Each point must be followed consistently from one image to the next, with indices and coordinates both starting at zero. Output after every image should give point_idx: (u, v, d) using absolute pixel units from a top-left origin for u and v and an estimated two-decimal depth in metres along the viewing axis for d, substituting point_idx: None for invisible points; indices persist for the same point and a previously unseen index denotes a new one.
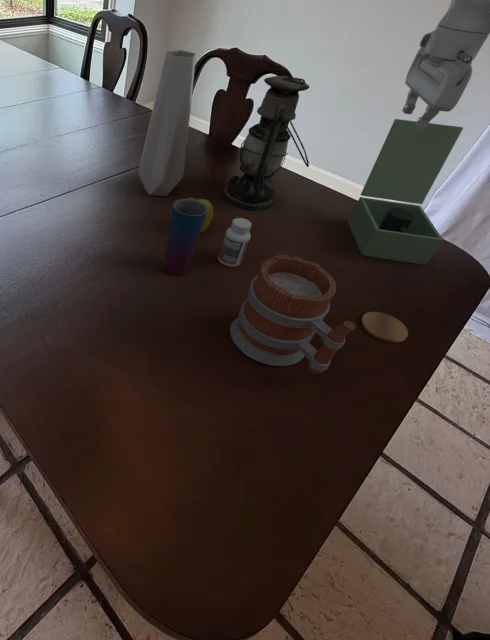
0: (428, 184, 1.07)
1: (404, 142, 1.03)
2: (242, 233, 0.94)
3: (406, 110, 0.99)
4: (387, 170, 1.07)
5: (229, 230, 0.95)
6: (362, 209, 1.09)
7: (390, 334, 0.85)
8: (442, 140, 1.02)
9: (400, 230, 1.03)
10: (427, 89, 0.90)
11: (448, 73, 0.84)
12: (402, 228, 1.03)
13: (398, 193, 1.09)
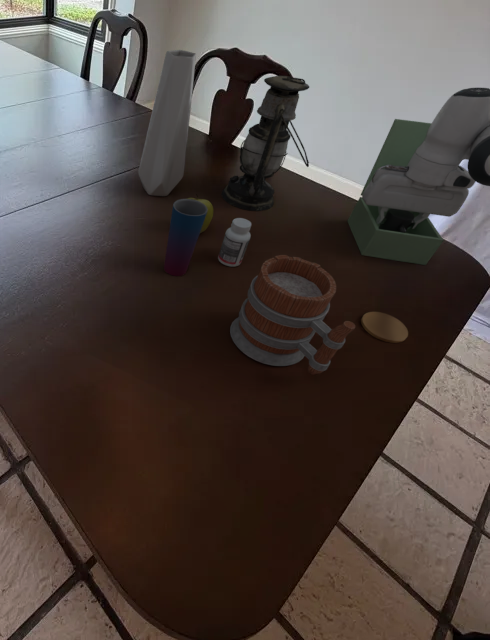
0: None
1: (404, 142, 1.03)
2: (242, 233, 0.94)
3: None
4: None
5: (229, 230, 0.95)
6: (362, 209, 1.09)
7: (390, 334, 0.85)
8: None
9: (400, 230, 1.03)
10: None
11: None
12: (402, 228, 1.03)
13: None
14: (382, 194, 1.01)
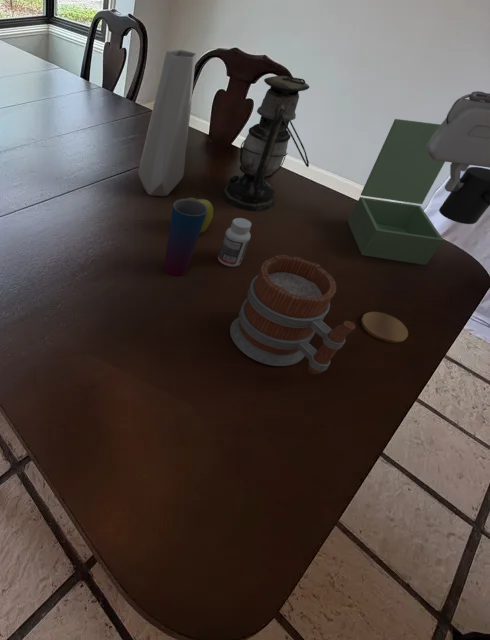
0: (428, 184, 1.07)
1: (404, 142, 1.03)
2: (242, 233, 0.94)
3: None
4: (387, 170, 1.07)
5: (229, 230, 0.95)
6: (362, 209, 1.09)
7: (390, 334, 0.85)
8: None
9: (487, 199, 0.66)
10: None
11: None
12: None
13: (398, 193, 1.09)
14: (462, 141, 0.64)
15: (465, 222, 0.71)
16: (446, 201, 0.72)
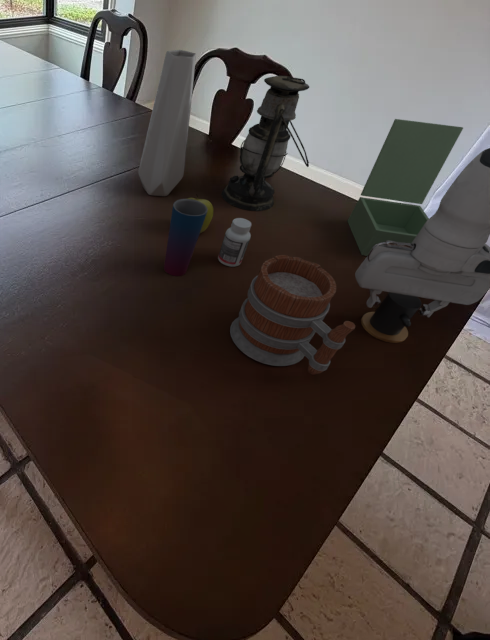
0: (428, 184, 1.07)
1: (404, 142, 1.03)
2: (242, 233, 0.94)
3: (420, 309, 0.83)
4: (387, 170, 1.07)
5: (229, 230, 0.95)
6: (362, 209, 1.09)
7: None
8: (442, 140, 1.02)
9: (403, 322, 0.80)
10: None
11: None
12: (406, 320, 0.80)
13: (398, 193, 1.09)
14: (381, 276, 0.78)
15: (389, 334, 0.85)
16: (374, 314, 0.86)
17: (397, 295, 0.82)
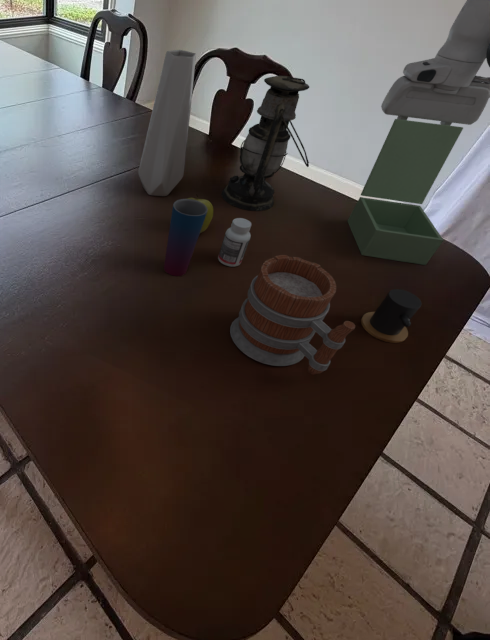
0: (428, 184, 1.07)
1: (404, 142, 1.03)
2: (242, 233, 0.94)
3: None
4: (387, 170, 1.07)
5: (229, 230, 0.95)
6: (362, 209, 1.09)
7: None
8: (442, 140, 1.02)
9: (403, 322, 0.80)
10: (448, 112, 0.99)
11: (484, 96, 0.96)
12: (406, 320, 0.80)
13: (398, 193, 1.09)
14: None
15: (389, 334, 0.85)
16: (374, 314, 0.86)
17: (397, 295, 0.82)
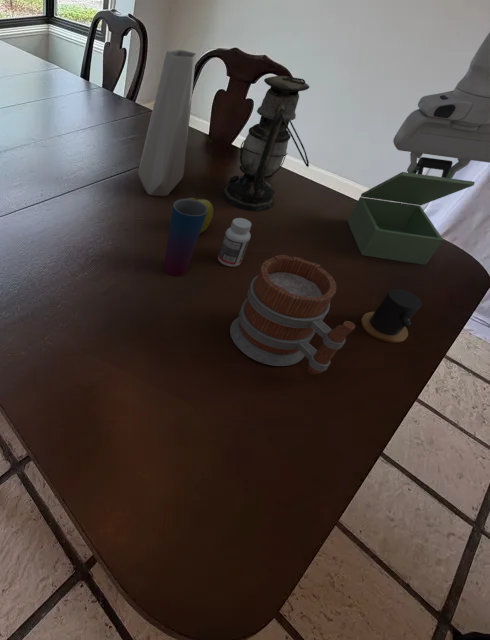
0: (429, 200, 1.06)
1: (408, 184, 0.98)
2: (242, 233, 0.94)
3: None
4: (388, 191, 1.05)
5: (229, 230, 0.95)
6: (362, 209, 1.09)
7: None
8: (449, 187, 0.96)
9: (403, 322, 0.80)
10: (467, 149, 0.91)
11: None
12: (406, 320, 0.80)
13: (398, 199, 1.09)
14: None
15: (389, 334, 0.85)
16: (374, 314, 0.86)
17: (397, 295, 0.82)
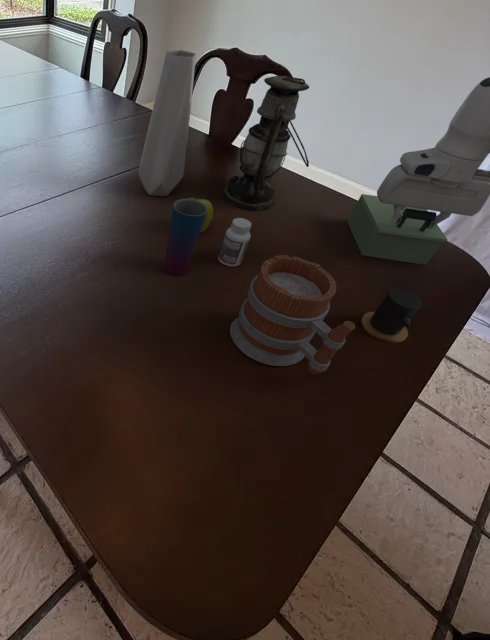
0: None
1: None
2: (242, 233, 0.94)
3: None
4: None
5: (229, 230, 0.95)
6: (362, 209, 1.09)
7: None
8: None
9: (403, 322, 0.80)
10: (447, 203, 0.93)
11: (485, 189, 0.90)
12: (406, 320, 0.80)
13: None
14: None
15: (389, 334, 0.85)
16: (374, 314, 0.86)
17: (397, 295, 0.82)
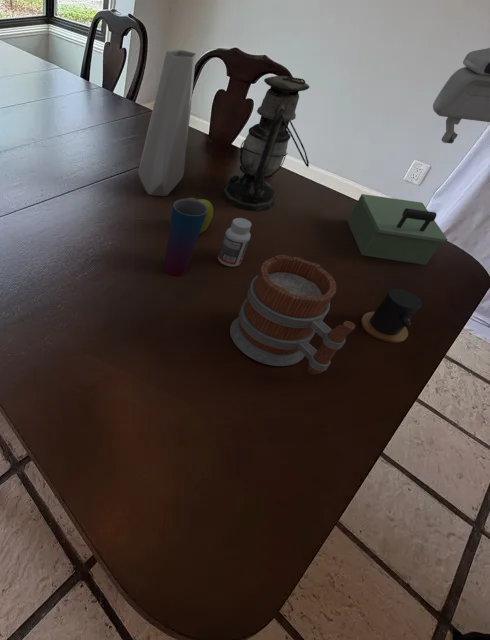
0: None
1: None
2: (242, 233, 0.94)
3: None
4: None
5: (229, 230, 0.95)
6: (362, 209, 1.09)
7: None
8: None
9: (403, 322, 0.80)
10: None
11: None
12: (406, 320, 0.80)
13: None
14: None
15: (389, 334, 0.85)
16: (374, 314, 0.86)
17: (397, 295, 0.82)
